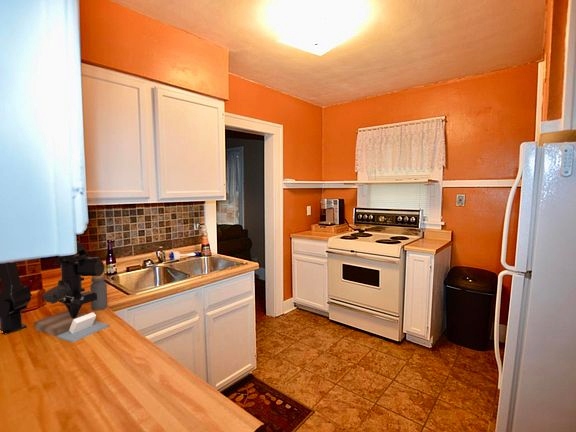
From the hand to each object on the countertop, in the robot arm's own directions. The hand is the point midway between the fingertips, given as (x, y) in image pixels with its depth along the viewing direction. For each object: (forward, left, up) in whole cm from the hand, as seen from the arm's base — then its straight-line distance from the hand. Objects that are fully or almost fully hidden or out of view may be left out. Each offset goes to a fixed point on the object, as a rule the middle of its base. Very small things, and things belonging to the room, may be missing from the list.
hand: (73, 317), depth 107 cm
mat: (+5, 0, -4) cm, 7 cm away
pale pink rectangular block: (+4, 0, 0) cm, 4 cm away
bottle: (-10, +17, -4) cm, 20 cm away
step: (-6, 0, -4) cm, 7 cm away
